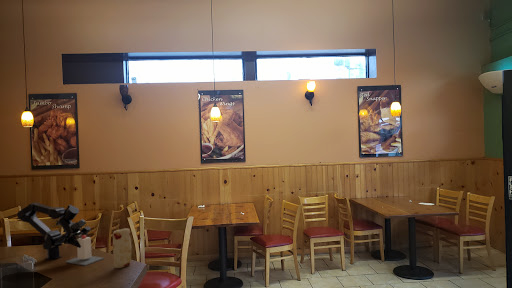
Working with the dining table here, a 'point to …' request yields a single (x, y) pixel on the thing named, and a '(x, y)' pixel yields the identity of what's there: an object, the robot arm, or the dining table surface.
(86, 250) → the big red button box
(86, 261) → the placemat
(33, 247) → the dining table surface
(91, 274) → the dining table surface
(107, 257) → the dining table surface
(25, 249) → the dining table surface
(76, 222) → the robot arm
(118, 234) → the food model
